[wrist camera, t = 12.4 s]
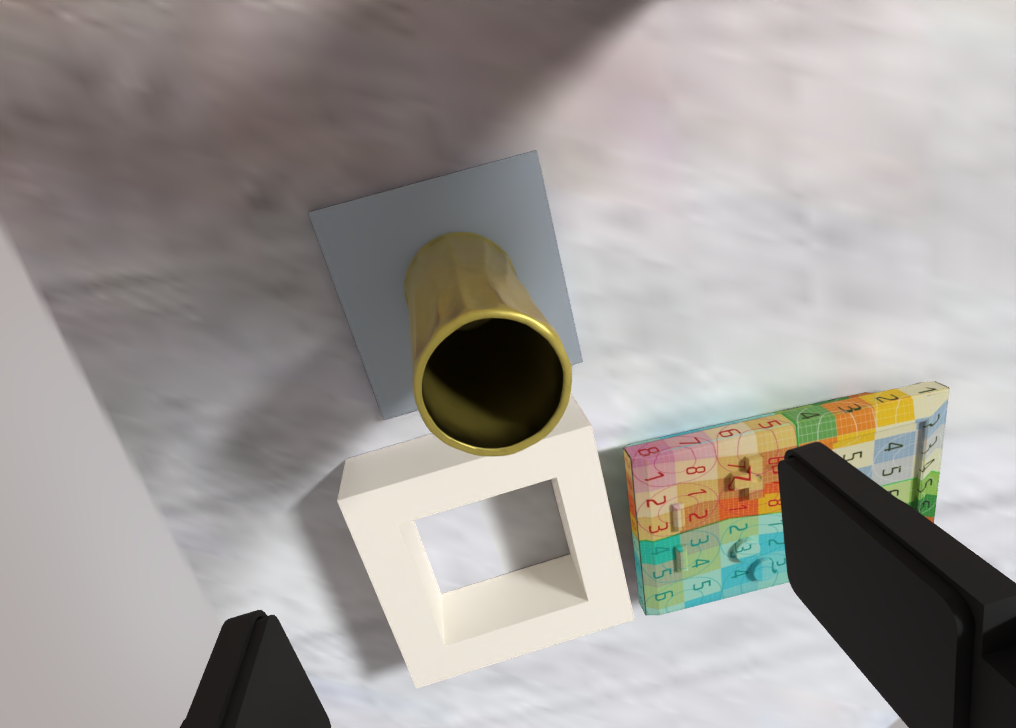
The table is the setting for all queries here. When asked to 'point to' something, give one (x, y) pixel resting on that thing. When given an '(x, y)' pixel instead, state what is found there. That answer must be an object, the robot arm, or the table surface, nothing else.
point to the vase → (481, 349)
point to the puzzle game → (764, 488)
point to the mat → (413, 223)
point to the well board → (500, 600)
